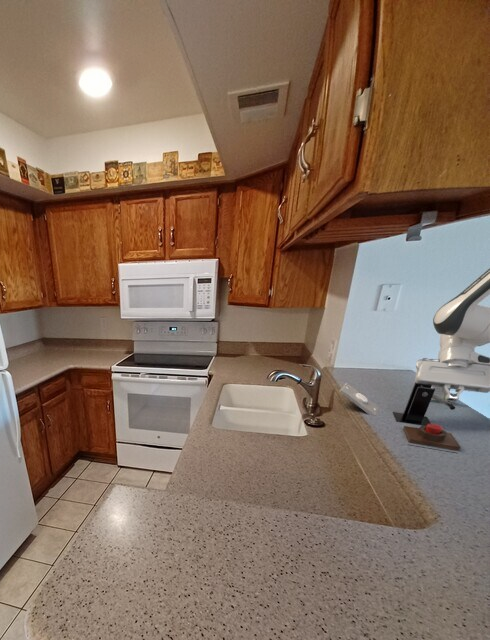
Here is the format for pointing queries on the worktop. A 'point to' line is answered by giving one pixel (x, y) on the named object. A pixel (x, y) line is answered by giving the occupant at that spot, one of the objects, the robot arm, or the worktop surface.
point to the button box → (431, 438)
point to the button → (434, 428)
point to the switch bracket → (417, 406)
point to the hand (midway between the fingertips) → (451, 399)
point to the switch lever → (442, 401)
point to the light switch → (359, 400)
